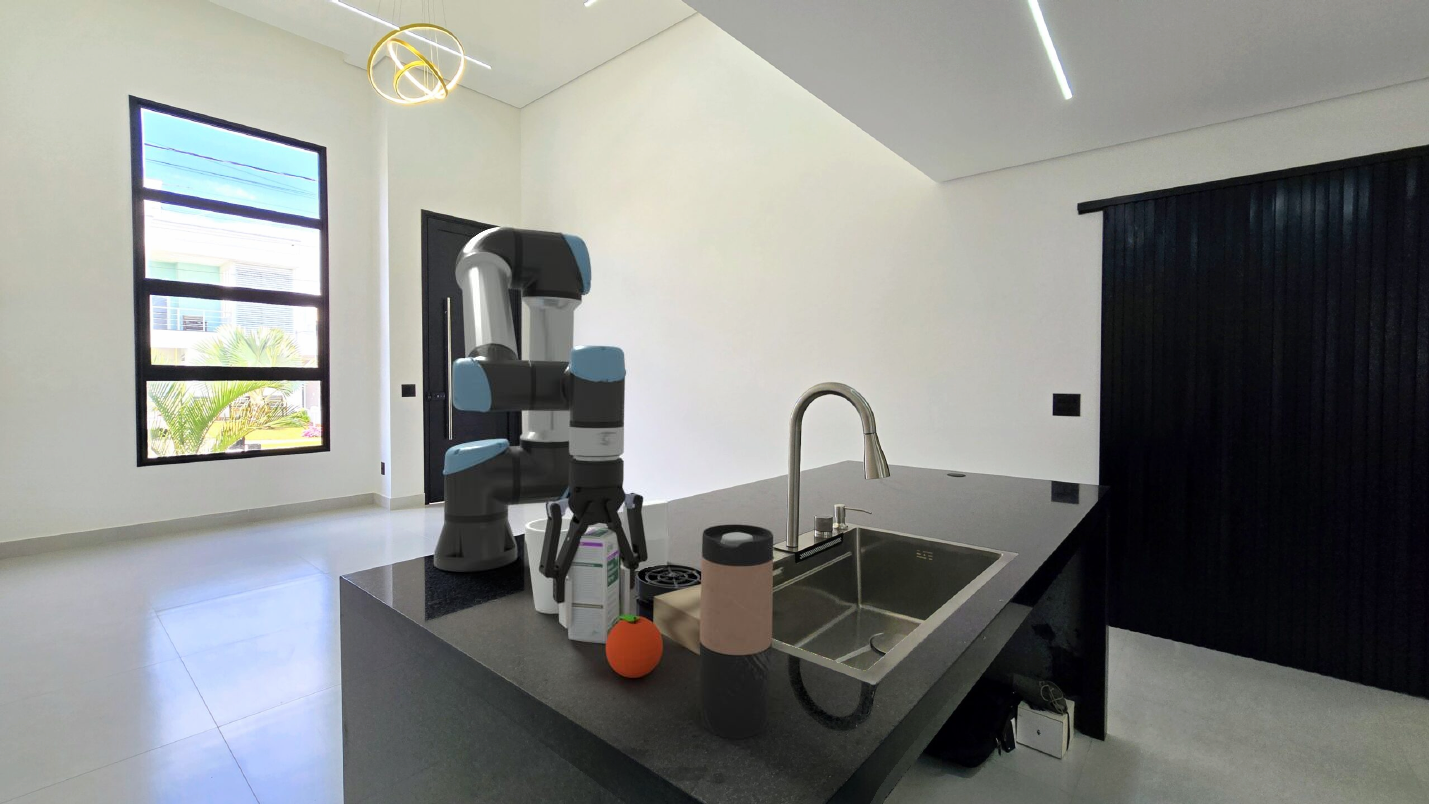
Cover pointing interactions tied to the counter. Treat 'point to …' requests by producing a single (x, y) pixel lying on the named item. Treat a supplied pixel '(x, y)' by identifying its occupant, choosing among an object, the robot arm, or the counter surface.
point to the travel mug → (736, 629)
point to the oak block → (680, 616)
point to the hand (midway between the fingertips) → (594, 617)
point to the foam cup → (534, 546)
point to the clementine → (634, 646)
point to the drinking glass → (652, 532)
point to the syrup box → (595, 586)
